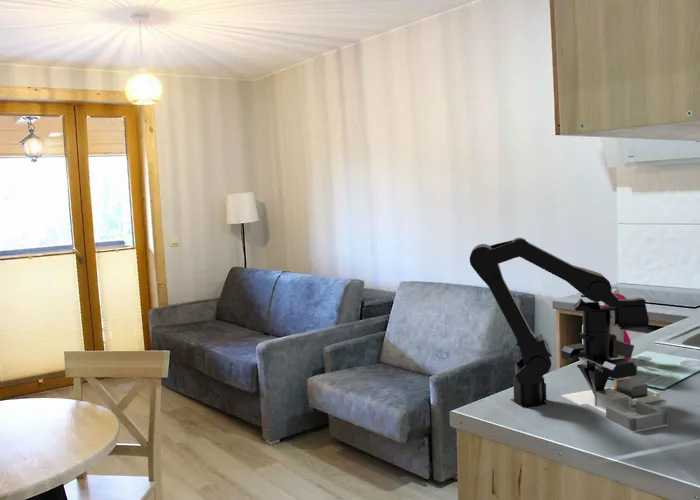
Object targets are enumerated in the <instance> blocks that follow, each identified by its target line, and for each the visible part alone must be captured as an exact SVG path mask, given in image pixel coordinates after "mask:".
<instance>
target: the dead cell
mask: <svg viewBox="0 0 700 500" xmlns="http://www.w3.org/2000/svg"><path fill="white" fill-rule="evenodd" d="M610 388H611V387H608V389H602V390H597V391H595V406H596V407H598V408H600V409H602V410H604V411H606V407H608V406H611V407H613V408H615V409H617V410H619V411H621V412H623V413H626V412H629V396H627V395H625V394H622V393H620V392H617V391H615V390H613V389H610Z"/></svg>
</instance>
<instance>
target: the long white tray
mask: <svg viewBox="0 0 700 500" xmlns="http://www.w3.org/2000/svg"><path fill="white" fill-rule="evenodd" d="M560 396H561V397H563V398H564V399H567V400H569V401H571V402H573V403H575V404H576V405H579V406H581V407H583V408H584V409H587V410H588V411H591V412H592V413H594V414H596V415H598V416H601V417H603V418H604V419H606V420H608V421H610V422H612V423H614V424H616V425H618V426H619V427H622V428H623V429H626V430H628V431H630V432H632V433H635V432H640V431H645V430H650V429H655V428H660V427H661V428H662V427H666V426H668V412H667V411H664V410H662V409H659V408H657V407H656V406H653V405H651V404H648V403H644V402H642V401H636V405H635V407H632V406H629V412H626V413H623V412H621V411H619V410H617V409H615V408H613V407H611V406H608V407H606V411H604V410H602V409H600V408H598V407H596V406H595V396H594V394H593V392H592V390H591V389H589V390H584V391H577V392H573V393H567V394H566V393H565V394H561V395H560Z"/></svg>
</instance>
